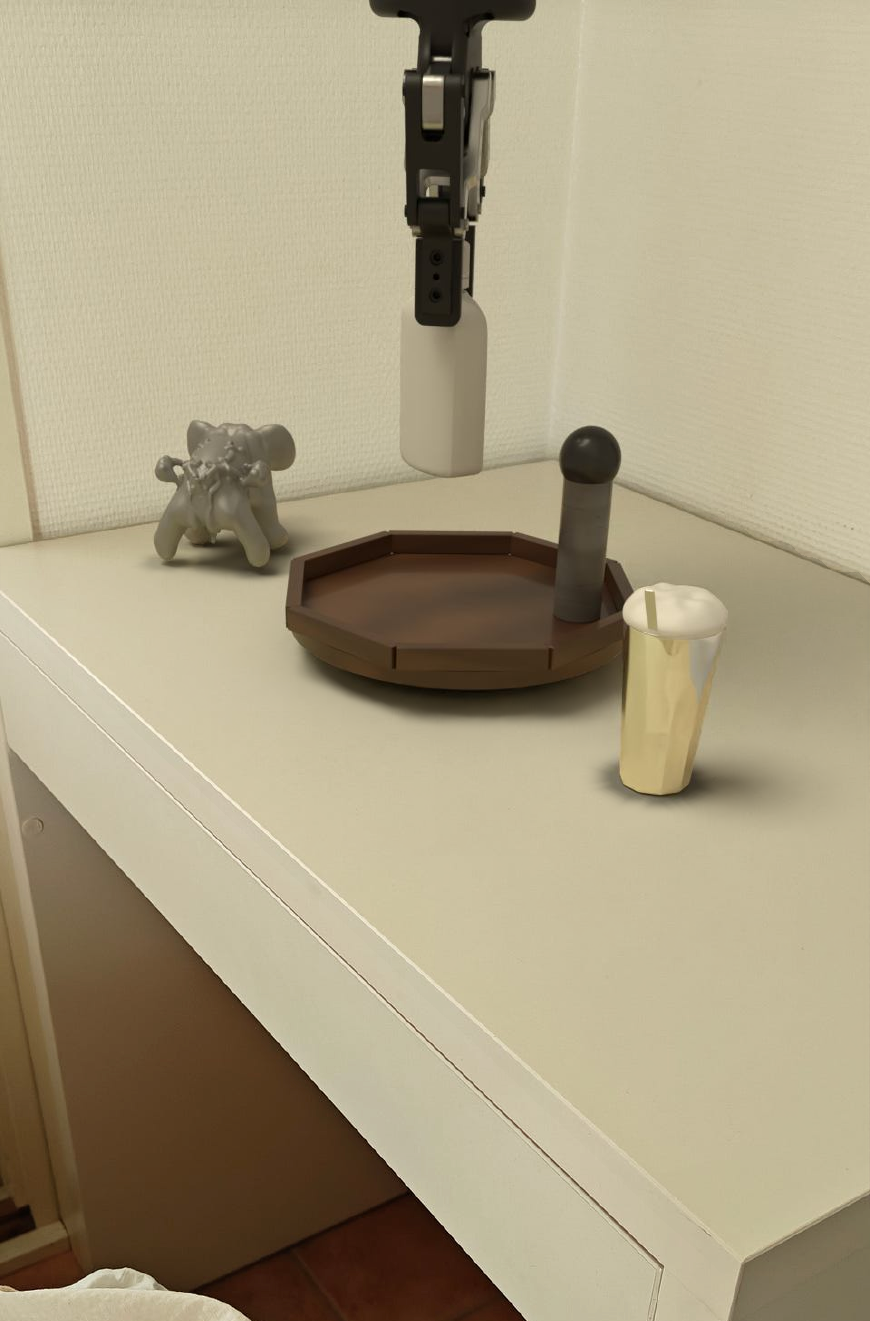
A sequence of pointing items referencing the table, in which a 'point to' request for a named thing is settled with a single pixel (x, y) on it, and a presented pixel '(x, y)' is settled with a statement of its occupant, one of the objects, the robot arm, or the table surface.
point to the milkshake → (666, 682)
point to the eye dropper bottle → (444, 389)
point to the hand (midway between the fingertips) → (444, 313)
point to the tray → (474, 594)
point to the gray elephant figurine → (226, 488)
